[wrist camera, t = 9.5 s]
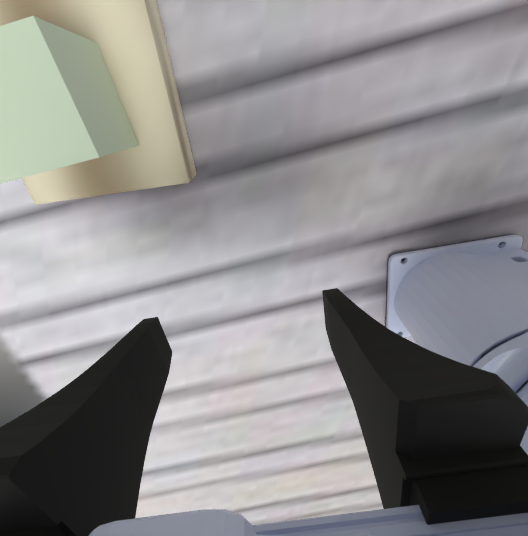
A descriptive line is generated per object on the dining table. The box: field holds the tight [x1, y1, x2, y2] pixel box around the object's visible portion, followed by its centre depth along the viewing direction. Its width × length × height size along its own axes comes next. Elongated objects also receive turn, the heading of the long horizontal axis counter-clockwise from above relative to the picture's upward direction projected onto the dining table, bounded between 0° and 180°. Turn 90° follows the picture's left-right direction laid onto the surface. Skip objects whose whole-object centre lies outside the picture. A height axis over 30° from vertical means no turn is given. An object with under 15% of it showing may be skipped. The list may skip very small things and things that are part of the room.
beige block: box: [0, 0, 197, 204], centre depth 16 cm, size 9×9×3 cm
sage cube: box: [0, 16, 139, 184], centre depth 13 cm, size 4×4×4 cm
